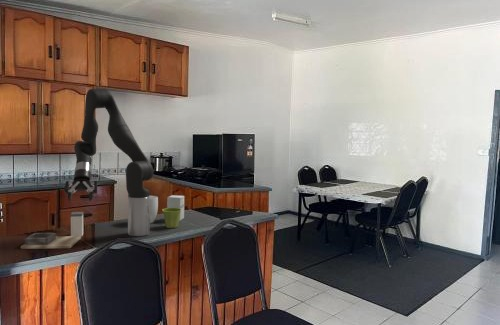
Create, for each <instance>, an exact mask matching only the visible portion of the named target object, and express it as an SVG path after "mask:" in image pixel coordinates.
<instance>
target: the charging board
mask: <svg viewBox="0 0 500 325" xmlns="http://www.w3.org/2000/svg"><path fill="white" fill-rule="evenodd" d="M81 239H82V237H81V236H71V235H68V236H67V235H62V236H61V235H60V236H59V235H58V236H57V233H56V232H33V233H31V234H30V235H29V236H27V237H25V238H24V244H22V245H21V246H20V249H21V250H23V249H24V250H26V249H27V250H29V249H34V250H37V249H38V250H39V249H41V250H44V249H71V248H72V247H73V246H75V244H77V243H78V242H79V241H80V240H81Z"/></svg>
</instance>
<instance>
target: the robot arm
mask: <svg viewBox="0 0 500 325" xmlns="http://www.w3.org/2000/svg"><path fill="white" fill-rule="evenodd" d="M85 95H86V96H85V100H84V101H85V102H84V120H83V127H82V130H81V134H80V135H81V136H80V138H81V140H77V141H76V142H75V144H74V146H73V147H74V148H73V150H74V154H75V158H76V160H75V161H76V162H75V163H76V164H75V168H74V174H73V181H71V182H70V181H68V180H66V181H65V185H64V189H63V191H64V195H67V200H68V201H69V202H72V198H73V194H74V193H76V192H77V191H78V192H80V191H82V192H85V191H86V192H87V193H88V200H89V202H91V201H92V200H93V197H94V195H95V194H96V195H97V194H98V182H97V180H94V181H91V180H92V178H91V177H92V163H93V162H92V161H93V160H92V157H94V155H96V153H97V144H96V142H97V140H96V139H97V135H98V133H99V124H98V121H97V119H96V118H95V111H96V109H105V110H106V111H107V112H108V115H109V116H108V117H109V119H108V126H107V132H108V135H109V137H110V139H111V141H112V142H113V144H114V145H115V146H116V147H117V148H118V149H120V151H122V152H123V153H124V154H125V155H126V156H127V157H129V158H130V160H131V162H129V163H127V165H126V168H125V183H126V184H125V185H126V192H127V197H128V198H127V234H128V236H129V237H130V236H131V237H144V236H148V235H149V234H150V230H151V229H150V228H151V227H150V226H151V223H150V212H149V196H150V190H149V189H147V188H145V187H144V185H143V182H146V181H149V180H151V179H152V178H153V177H154V167H153V165H152V164H151V162H150V160H149V159H148V157H147V156H146V155H145V153H144V152H143V151H142V149H141V147H140V145H139V143H138V142H137V140H136V139H135V137H134V135H133V133H132V131H131V129H130V128H129V125H128V124H127V122H126V121H125V119H124V117H123V116H122V113H121V112H120V109H119V108H118V107H119V106H118V104H117V103H116V99H115V98H114V97H115V96H114V95H113V94H112V92H111V90H109V89H108V88H91V89H88V90H87V92H86V94H85ZM91 186H92V187H93V188H91Z"/></svg>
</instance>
